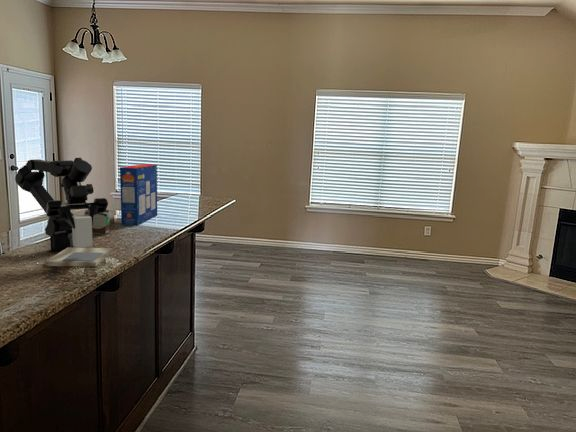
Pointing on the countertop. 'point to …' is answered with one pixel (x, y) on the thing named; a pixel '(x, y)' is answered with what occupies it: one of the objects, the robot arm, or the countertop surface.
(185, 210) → the countertop surface
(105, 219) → the food container
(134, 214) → the pasta box
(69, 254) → the board
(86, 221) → the grey post
